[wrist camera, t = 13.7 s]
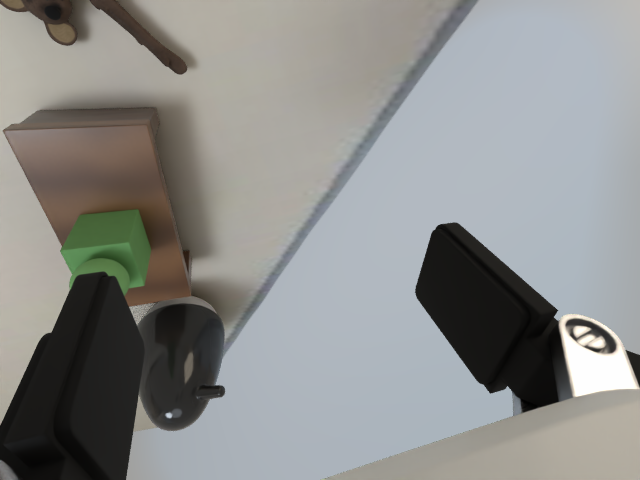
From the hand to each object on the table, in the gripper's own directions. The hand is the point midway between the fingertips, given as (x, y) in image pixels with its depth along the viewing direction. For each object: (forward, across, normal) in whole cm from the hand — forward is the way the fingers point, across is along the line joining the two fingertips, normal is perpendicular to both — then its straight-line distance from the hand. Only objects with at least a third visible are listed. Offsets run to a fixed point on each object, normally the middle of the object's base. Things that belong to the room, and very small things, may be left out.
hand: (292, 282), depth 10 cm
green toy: (+20, +11, +10) cm, 25 cm away
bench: (+26, +11, +10) cm, 30 cm away
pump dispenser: (+26, +9, +27) cm, 39 cm away
